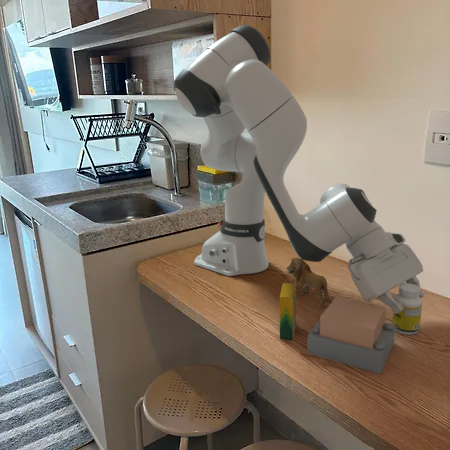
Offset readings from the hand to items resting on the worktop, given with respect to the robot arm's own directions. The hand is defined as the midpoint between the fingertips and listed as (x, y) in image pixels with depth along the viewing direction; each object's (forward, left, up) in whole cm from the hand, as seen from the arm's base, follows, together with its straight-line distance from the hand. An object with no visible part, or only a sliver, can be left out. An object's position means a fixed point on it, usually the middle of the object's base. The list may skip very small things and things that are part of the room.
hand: (410, 305), depth 93 cm
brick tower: (-9, -13, -6) cm, 17 cm away
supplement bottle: (-1, 0, -6) cm, 6 cm away
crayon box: (-22, -13, -6) cm, 26 cm away
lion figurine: (-24, +5, -6) cm, 25 cm away
